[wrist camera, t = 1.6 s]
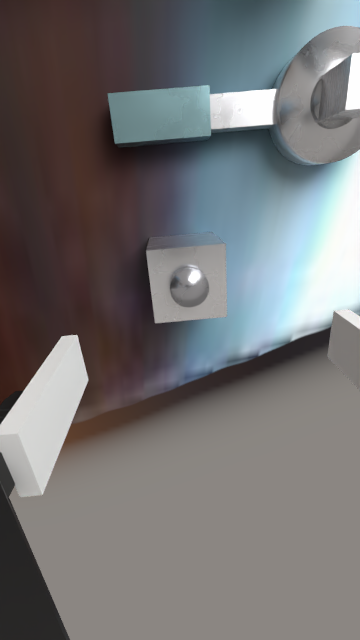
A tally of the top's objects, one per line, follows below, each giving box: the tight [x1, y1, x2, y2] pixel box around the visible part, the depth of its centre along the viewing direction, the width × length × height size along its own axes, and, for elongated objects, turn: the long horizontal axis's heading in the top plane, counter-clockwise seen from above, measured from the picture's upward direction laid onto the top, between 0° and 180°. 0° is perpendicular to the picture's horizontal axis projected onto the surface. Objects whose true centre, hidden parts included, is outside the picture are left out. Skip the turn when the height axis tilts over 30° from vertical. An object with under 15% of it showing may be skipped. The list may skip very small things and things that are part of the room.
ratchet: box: [108, 26, 360, 166], centre depth 23 cm, size 22×9×8 cm, turn 95°
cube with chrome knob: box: [146, 232, 227, 323], centre depth 28 cm, size 6×6×8 cm
